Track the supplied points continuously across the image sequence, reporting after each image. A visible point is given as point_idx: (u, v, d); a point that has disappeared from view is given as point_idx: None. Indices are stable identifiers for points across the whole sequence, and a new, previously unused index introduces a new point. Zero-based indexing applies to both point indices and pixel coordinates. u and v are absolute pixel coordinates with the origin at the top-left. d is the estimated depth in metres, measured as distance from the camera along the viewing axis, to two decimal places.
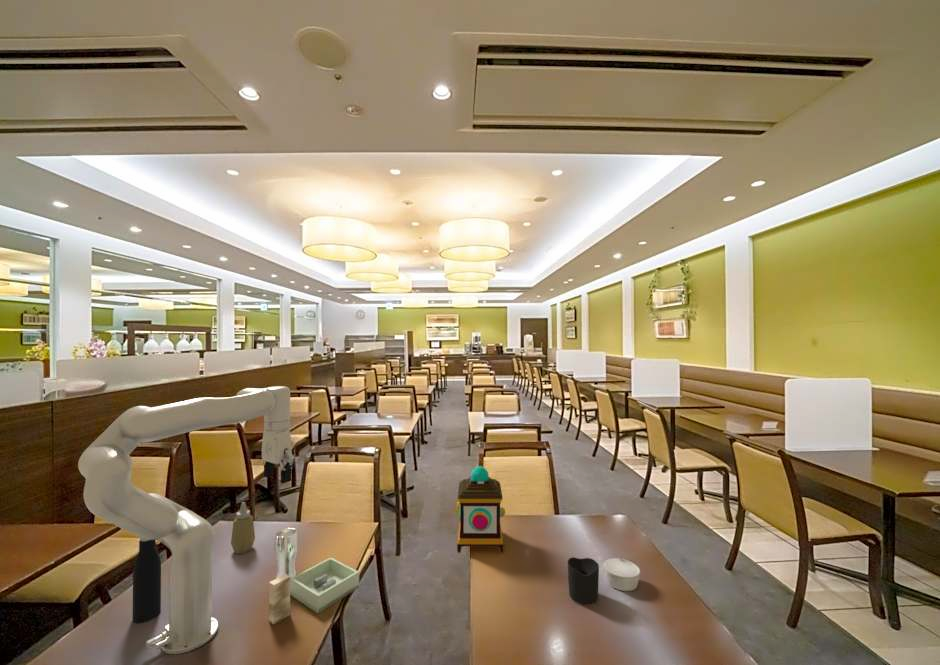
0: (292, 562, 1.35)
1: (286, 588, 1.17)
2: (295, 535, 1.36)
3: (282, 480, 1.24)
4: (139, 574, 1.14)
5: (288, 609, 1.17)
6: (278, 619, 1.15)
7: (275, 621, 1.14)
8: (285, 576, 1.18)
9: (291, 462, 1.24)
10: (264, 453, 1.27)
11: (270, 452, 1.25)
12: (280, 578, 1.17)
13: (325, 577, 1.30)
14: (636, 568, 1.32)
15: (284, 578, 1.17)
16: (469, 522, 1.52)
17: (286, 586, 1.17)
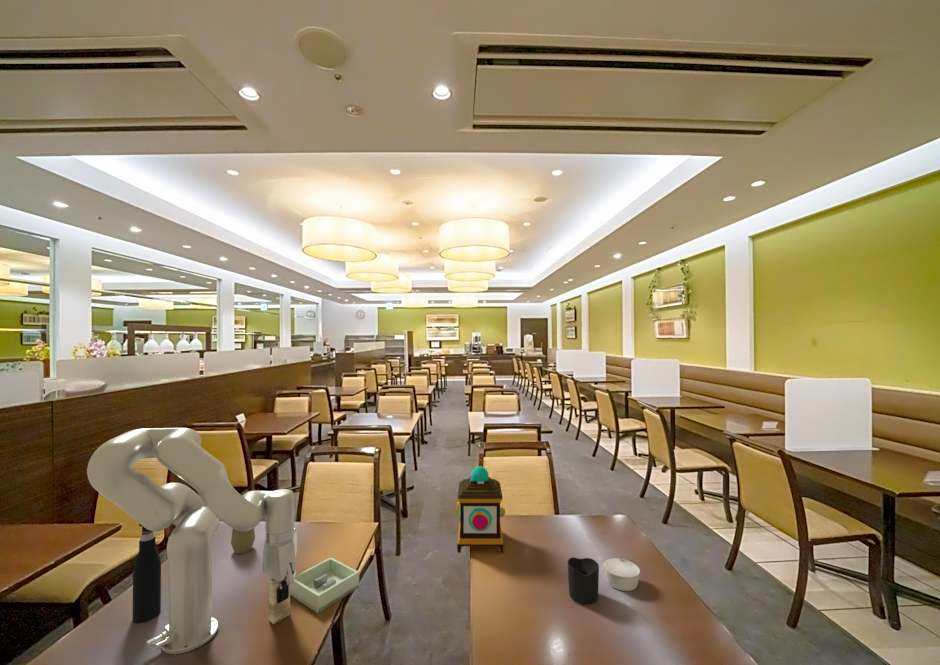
0: None
1: None
2: (295, 535, 1.36)
3: (278, 600, 1.14)
4: (139, 574, 1.14)
5: (288, 609, 1.17)
6: (278, 619, 1.15)
7: (275, 621, 1.14)
8: None
9: (288, 583, 1.13)
10: (265, 566, 1.16)
11: (272, 567, 1.14)
12: None
13: (325, 577, 1.30)
14: (636, 568, 1.32)
15: None
16: (469, 522, 1.52)
17: None
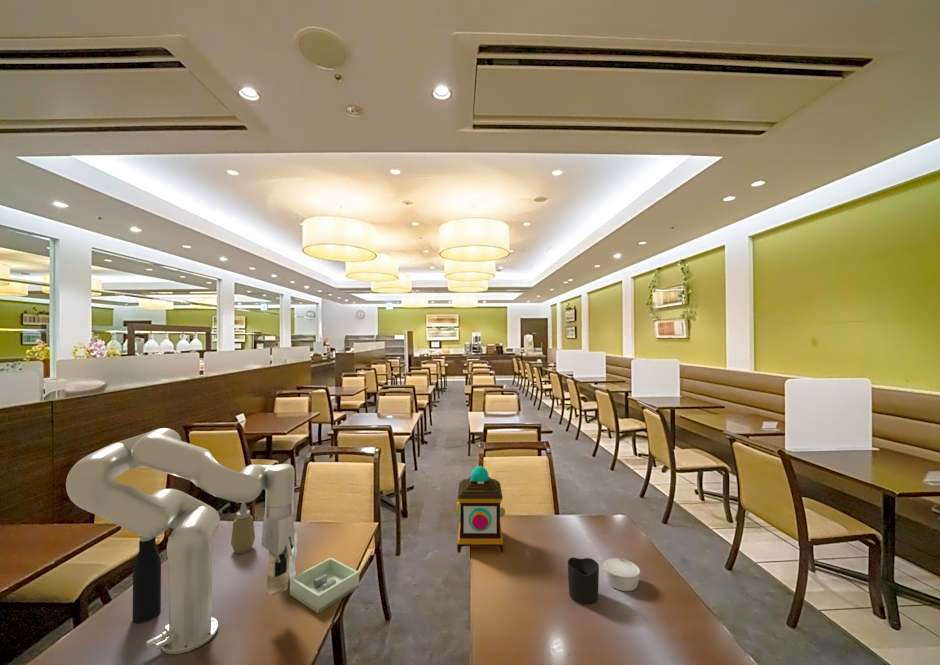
0: (292, 562, 1.35)
1: None
2: (295, 535, 1.36)
3: (276, 573, 1.14)
4: (139, 574, 1.14)
5: (286, 583, 1.17)
6: (275, 592, 1.14)
7: (272, 594, 1.14)
8: None
9: None
10: (264, 540, 1.16)
11: (271, 540, 1.14)
12: None
13: (325, 577, 1.30)
14: (636, 568, 1.32)
15: None
16: (469, 522, 1.52)
17: None
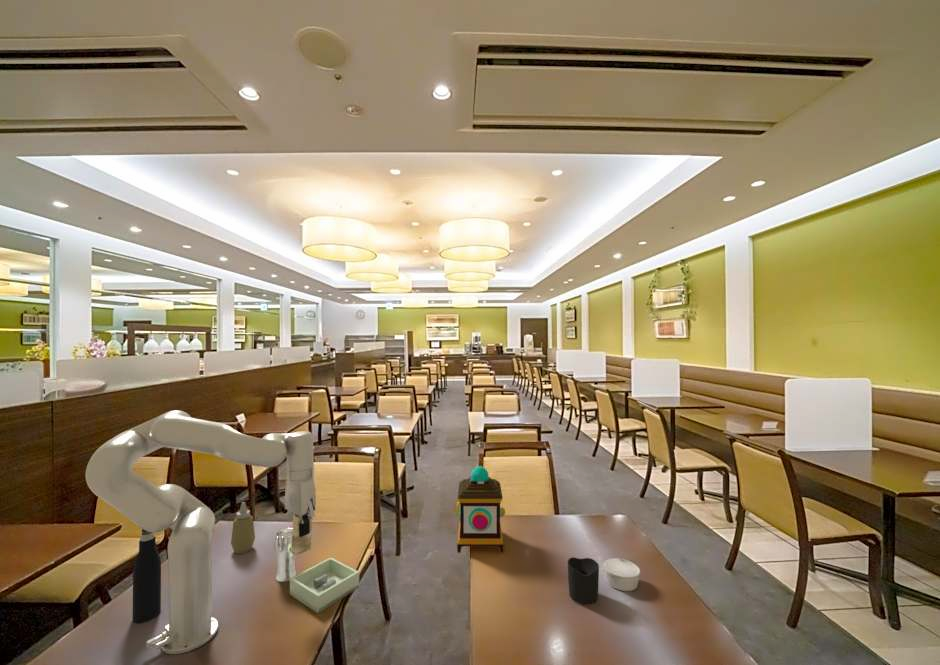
0: (292, 562, 1.35)
1: None
2: None
3: (300, 534, 1.20)
4: (139, 574, 1.14)
5: (310, 544, 1.23)
6: (300, 551, 1.20)
7: (297, 553, 1.19)
8: None
9: (310, 518, 1.19)
10: (287, 503, 1.21)
11: (294, 502, 1.19)
12: None
13: (325, 577, 1.30)
14: (636, 568, 1.32)
15: None
16: (469, 522, 1.52)
17: None
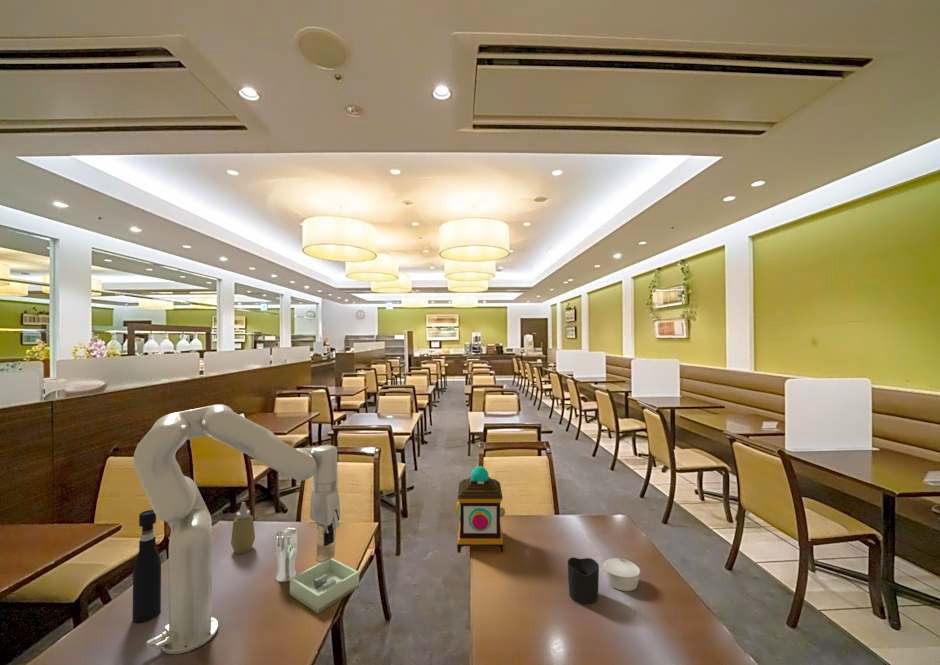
0: (292, 562, 1.35)
1: None
2: (295, 535, 1.36)
3: (325, 543, 1.27)
4: (139, 574, 1.14)
5: (333, 552, 1.30)
6: (324, 559, 1.27)
7: (322, 561, 1.26)
8: None
9: (334, 528, 1.26)
10: (313, 513, 1.28)
11: (319, 513, 1.26)
12: None
13: (325, 577, 1.30)
14: (636, 568, 1.32)
15: None
16: (469, 522, 1.52)
17: None
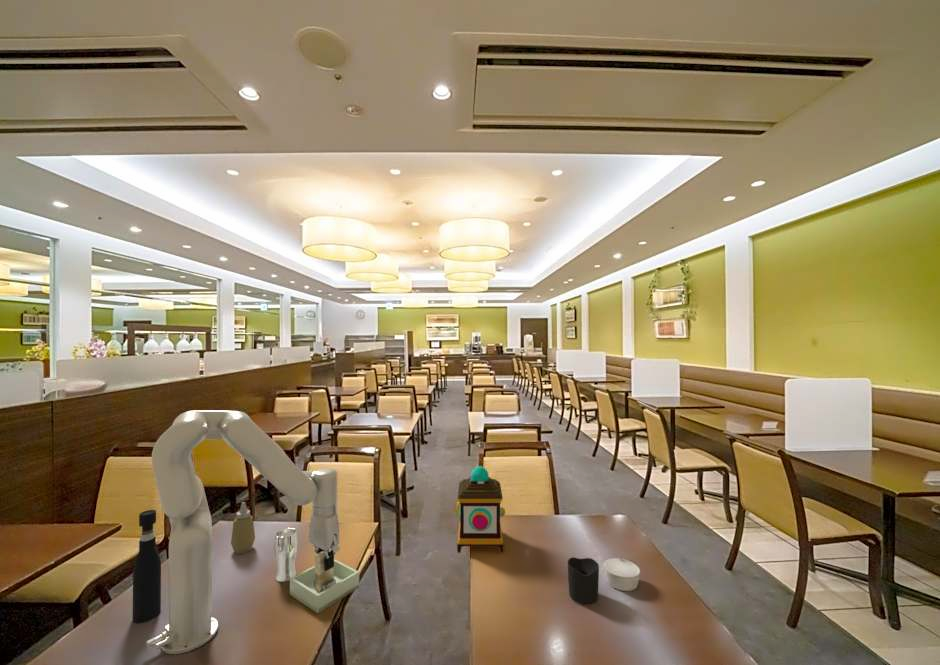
0: (292, 562, 1.35)
1: None
2: (295, 535, 1.36)
3: (326, 567, 1.26)
4: (139, 574, 1.14)
5: None
6: None
7: (321, 590, 1.26)
8: None
9: (335, 552, 1.25)
10: (312, 537, 1.28)
11: (319, 537, 1.26)
12: (324, 551, 1.29)
13: None
14: (636, 568, 1.32)
15: None
16: (469, 522, 1.52)
17: None
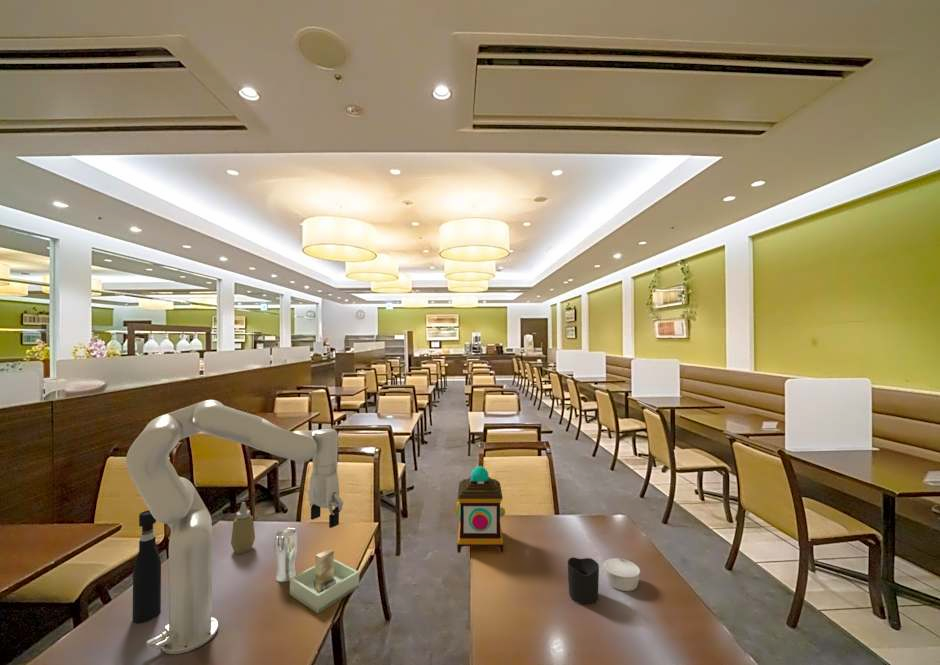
0: (292, 562, 1.35)
1: (330, 561, 1.29)
2: (295, 535, 1.36)
3: (330, 524, 1.25)
4: (139, 574, 1.14)
5: None
6: None
7: (321, 590, 1.26)
8: (329, 550, 1.30)
9: (340, 507, 1.24)
10: (312, 496, 1.28)
11: (318, 496, 1.26)
12: (325, 552, 1.29)
13: None
14: (636, 568, 1.32)
15: (328, 552, 1.29)
16: (469, 522, 1.52)
17: (330, 559, 1.29)
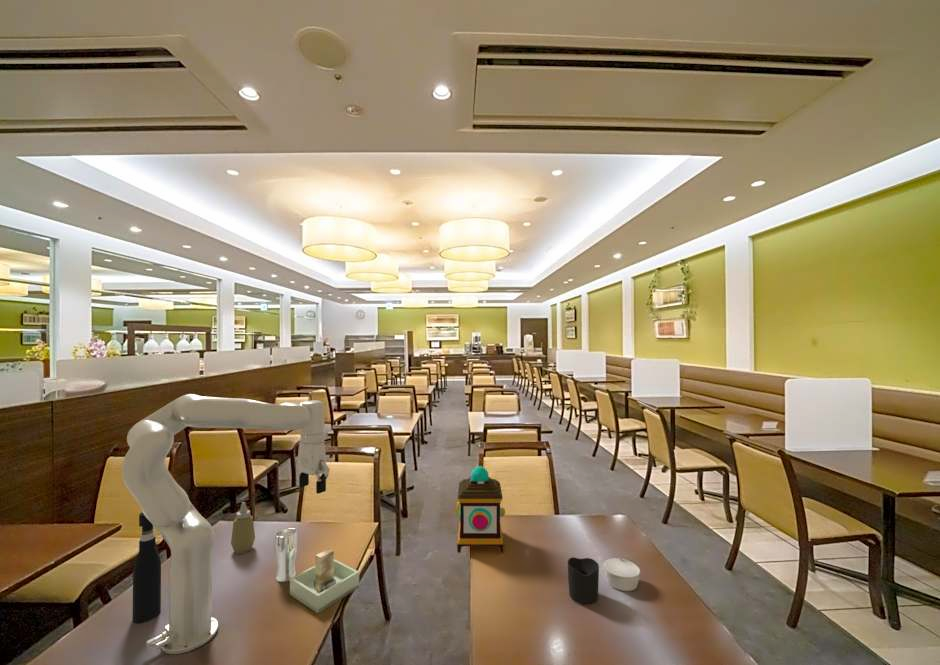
0: (292, 562, 1.35)
1: (330, 561, 1.29)
2: (295, 535, 1.36)
3: (318, 490, 1.30)
4: (139, 574, 1.14)
5: None
6: None
7: (321, 590, 1.26)
8: (329, 550, 1.30)
9: (326, 473, 1.30)
10: (300, 464, 1.34)
11: (306, 464, 1.32)
12: (325, 552, 1.29)
13: None
14: (636, 568, 1.32)
15: (328, 552, 1.29)
16: (469, 522, 1.52)
17: (330, 559, 1.29)
